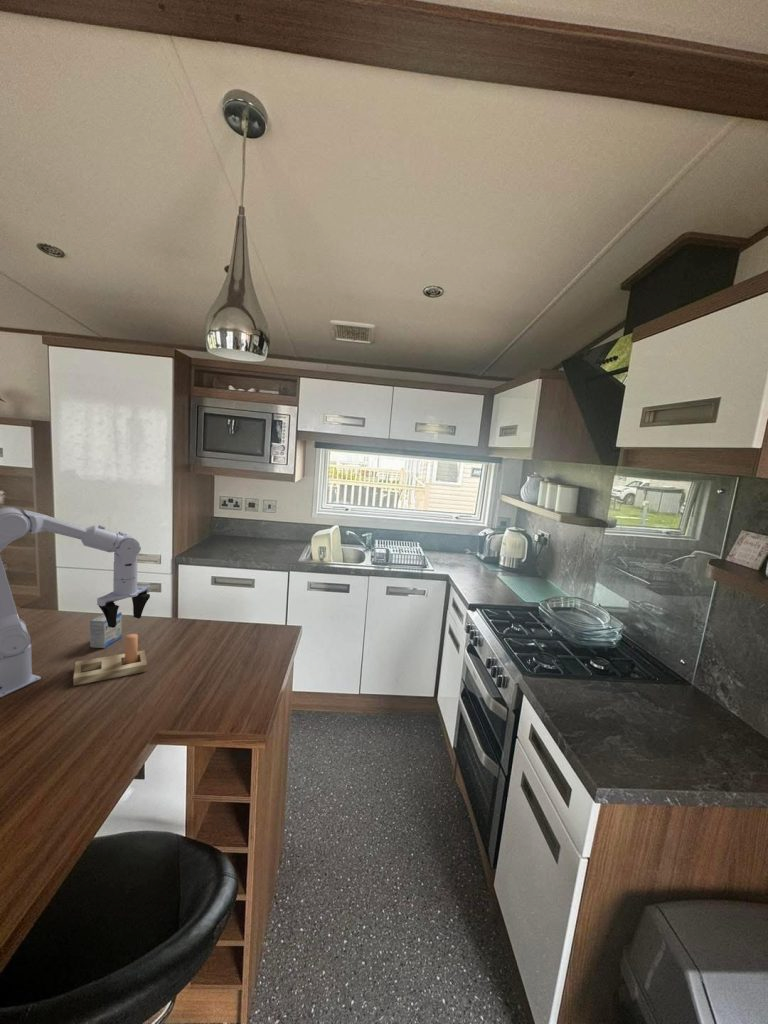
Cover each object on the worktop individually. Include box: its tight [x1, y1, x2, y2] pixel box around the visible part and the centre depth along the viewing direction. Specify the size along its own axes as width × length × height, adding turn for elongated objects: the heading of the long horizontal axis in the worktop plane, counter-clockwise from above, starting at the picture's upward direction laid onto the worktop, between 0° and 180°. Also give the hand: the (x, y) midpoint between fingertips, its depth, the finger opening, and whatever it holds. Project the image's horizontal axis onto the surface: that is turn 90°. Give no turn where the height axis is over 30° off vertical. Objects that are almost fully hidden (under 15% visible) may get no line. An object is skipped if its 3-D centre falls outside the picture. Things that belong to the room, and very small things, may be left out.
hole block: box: [73, 649, 148, 686], centre depth 108 cm, size 16×9×2 cm, turn 125°
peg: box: [124, 633, 139, 665], centre depth 110 cm, size 3×3×9 cm
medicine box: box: [89, 611, 123, 649], centre depth 122 cm, size 8×4×9 cm, turn 179°
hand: (124, 622), depth 115 cm, fingers open, 7 cm apart
